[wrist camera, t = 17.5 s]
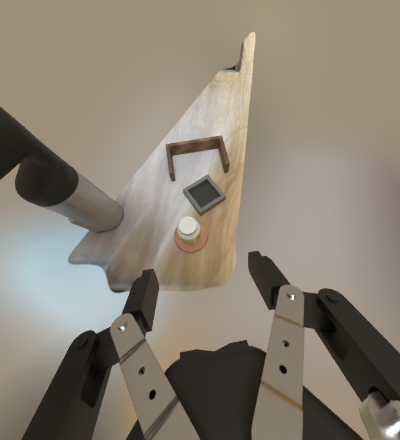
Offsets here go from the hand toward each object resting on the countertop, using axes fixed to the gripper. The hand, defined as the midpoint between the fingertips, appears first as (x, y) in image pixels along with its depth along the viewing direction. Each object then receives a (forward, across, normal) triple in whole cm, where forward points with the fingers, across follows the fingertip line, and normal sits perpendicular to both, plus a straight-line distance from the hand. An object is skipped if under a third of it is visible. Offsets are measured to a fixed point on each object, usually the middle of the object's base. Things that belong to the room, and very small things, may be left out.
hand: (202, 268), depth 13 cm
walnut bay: (+44, -4, -3) cm, 44 cm away
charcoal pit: (+35, -4, +5) cm, 36 cm away
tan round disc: (+27, +2, +13) cm, 30 cm away
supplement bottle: (+27, +2, +13) cm, 30 cm away
